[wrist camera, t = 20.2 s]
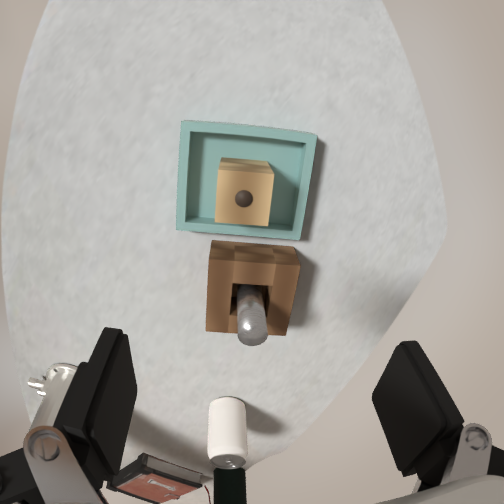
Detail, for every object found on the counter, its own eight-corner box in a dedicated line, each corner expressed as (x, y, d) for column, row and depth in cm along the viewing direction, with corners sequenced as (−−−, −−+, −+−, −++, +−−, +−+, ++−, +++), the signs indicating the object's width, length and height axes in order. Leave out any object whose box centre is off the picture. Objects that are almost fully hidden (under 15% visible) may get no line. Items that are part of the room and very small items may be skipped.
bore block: (208, 307, 43) (205, 331, 39) (211, 240, 39) (208, 259, 34) (280, 312, 44) (285, 335, 40) (293, 246, 40) (300, 265, 35)
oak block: (218, 200, 36) (214, 222, 30) (221, 157, 34) (217, 170, 28) (262, 203, 37) (268, 226, 30) (266, 161, 34) (274, 174, 28)
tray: (179, 222, 38) (175, 230, 35) (184, 120, 32) (181, 121, 30) (295, 231, 39) (299, 240, 37) (311, 133, 34) (317, 135, 32)
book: (160, 493, 75) (158, 506, 71) (108, 474, 70) (106, 488, 65) (205, 472, 67) (204, 488, 63) (143, 451, 62) (140, 468, 57)
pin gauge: (235, 292, 41) (236, 345, 32) (237, 271, 40) (239, 322, 31) (259, 293, 41) (265, 346, 32) (262, 273, 40) (269, 324, 31)
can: (241, 393, 51) (243, 451, 41) (248, 413, 54) (252, 467, 44) (204, 397, 52) (201, 455, 41) (215, 417, 55) (213, 471, 44)
